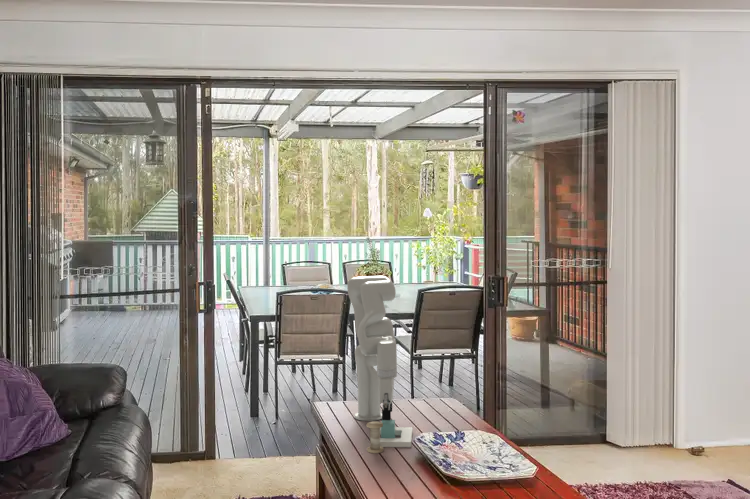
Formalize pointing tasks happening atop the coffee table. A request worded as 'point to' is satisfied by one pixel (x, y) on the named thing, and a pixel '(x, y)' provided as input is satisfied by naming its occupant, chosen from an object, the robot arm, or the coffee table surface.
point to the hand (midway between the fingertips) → (387, 415)
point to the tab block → (388, 429)
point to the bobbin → (375, 437)
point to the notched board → (398, 442)
